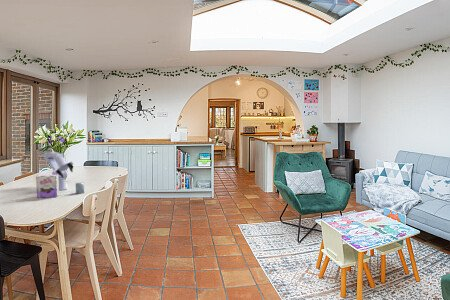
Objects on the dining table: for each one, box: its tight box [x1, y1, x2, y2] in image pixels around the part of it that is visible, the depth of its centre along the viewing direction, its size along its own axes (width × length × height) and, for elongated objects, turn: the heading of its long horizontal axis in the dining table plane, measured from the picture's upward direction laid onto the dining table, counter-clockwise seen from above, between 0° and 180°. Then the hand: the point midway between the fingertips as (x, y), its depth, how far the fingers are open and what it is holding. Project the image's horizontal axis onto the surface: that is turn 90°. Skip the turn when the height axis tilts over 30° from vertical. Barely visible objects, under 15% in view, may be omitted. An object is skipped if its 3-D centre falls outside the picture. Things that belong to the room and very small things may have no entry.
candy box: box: [35, 174, 60, 199], centre depth 232 cm, size 14×6×16 cm, turn 101°
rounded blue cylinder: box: [75, 182, 85, 195], centre depth 245 cm, size 6×6×8 cm
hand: (67, 174), depth 242 cm, fingers open, 7 cm apart
